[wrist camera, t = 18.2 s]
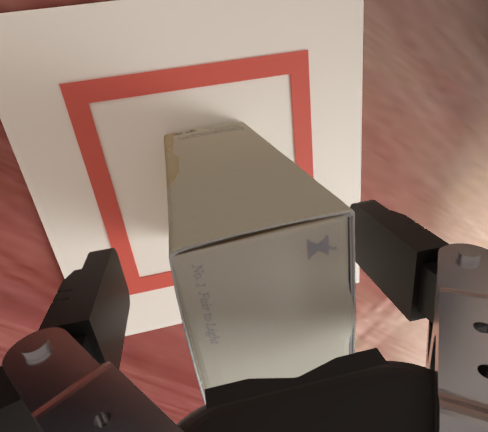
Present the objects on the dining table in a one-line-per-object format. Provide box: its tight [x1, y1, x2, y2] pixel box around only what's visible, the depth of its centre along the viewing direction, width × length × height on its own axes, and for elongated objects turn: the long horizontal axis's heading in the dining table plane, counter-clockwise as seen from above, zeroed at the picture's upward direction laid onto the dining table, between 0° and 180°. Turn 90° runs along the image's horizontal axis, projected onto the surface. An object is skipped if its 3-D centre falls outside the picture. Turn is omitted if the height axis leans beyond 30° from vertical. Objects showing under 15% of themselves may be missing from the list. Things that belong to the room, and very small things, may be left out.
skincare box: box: [164, 121, 356, 405], centre depth 14 cm, size 6×4×12 cm
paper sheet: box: [0, 0, 364, 336], centre depth 20 cm, size 18×18×1 cm
